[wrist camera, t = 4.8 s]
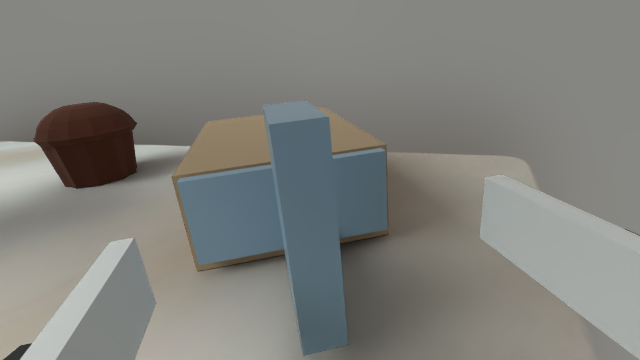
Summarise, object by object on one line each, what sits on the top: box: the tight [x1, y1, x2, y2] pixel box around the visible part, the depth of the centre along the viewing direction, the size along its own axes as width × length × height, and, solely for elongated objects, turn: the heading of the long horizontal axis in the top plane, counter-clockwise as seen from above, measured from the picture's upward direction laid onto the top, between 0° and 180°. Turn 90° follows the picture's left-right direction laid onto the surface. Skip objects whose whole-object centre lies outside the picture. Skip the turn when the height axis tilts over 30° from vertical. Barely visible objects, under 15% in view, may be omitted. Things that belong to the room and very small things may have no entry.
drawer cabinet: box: [172, 107, 388, 271], centre depth 32 cm, size 20×14×7 cm
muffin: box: [34, 102, 137, 189], centre depth 45 cm, size 12×11×10 cm
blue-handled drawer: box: [177, 100, 388, 356], centre depth 26 cm, size 29×13×10 cm, turn 12°
